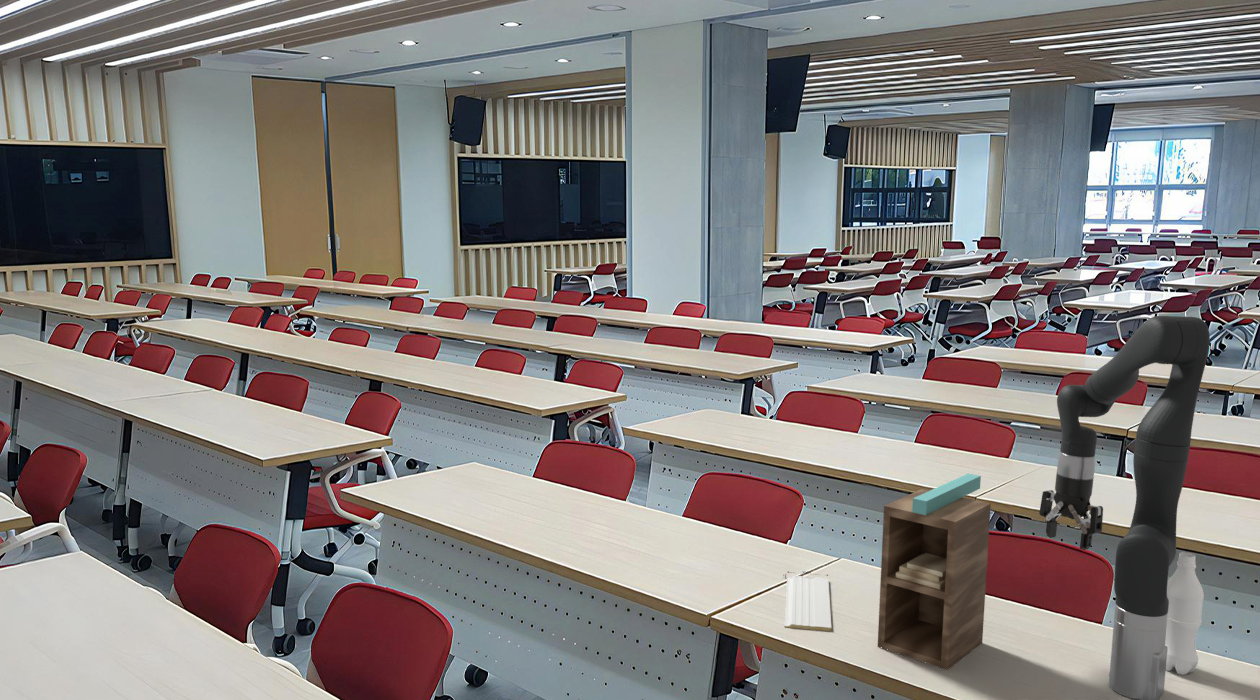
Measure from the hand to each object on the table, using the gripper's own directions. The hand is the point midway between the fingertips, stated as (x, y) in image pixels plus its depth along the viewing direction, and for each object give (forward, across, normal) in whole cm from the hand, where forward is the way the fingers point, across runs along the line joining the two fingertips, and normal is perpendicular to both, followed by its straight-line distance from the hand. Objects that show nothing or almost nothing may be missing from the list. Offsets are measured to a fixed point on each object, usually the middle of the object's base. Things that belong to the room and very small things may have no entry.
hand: (1067, 542), depth 213 cm
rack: (+22, +8, +31) cm, 39 cm away
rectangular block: (-10, +11, +27) cm, 31 cm away
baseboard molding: (+24, +40, +41) cm, 62 cm away
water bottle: (+21, -24, -7) cm, 32 cm away
